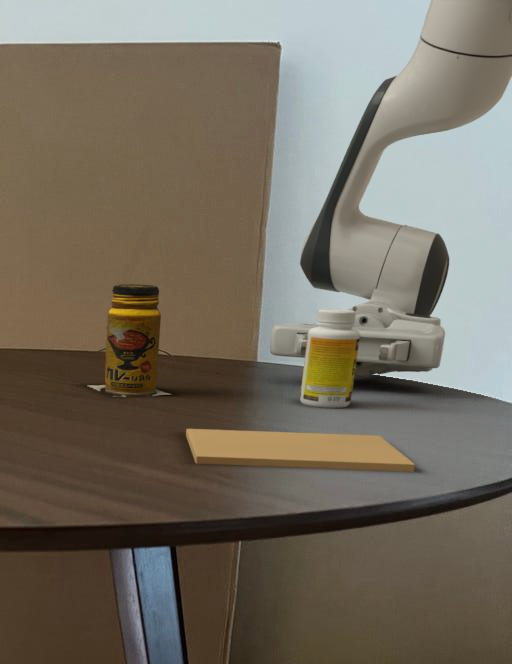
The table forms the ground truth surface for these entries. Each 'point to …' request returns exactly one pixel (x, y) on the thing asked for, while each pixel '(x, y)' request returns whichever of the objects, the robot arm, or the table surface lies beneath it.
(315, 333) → the supplement bottle
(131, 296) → the condiment
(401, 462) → the wooden board
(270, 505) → the table surface
